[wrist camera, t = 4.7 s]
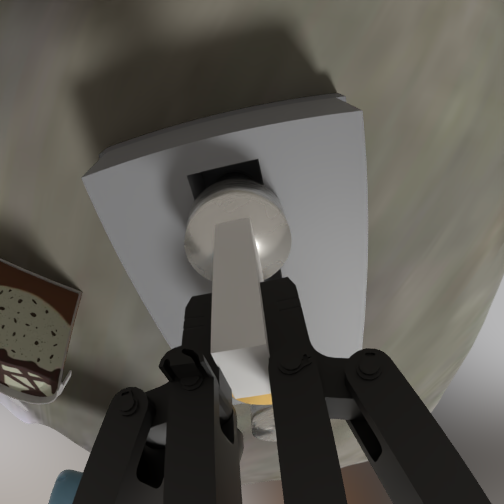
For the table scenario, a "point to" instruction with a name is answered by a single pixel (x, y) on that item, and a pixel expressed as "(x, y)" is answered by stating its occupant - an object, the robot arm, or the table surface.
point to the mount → (260, 170)
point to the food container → (34, 334)
